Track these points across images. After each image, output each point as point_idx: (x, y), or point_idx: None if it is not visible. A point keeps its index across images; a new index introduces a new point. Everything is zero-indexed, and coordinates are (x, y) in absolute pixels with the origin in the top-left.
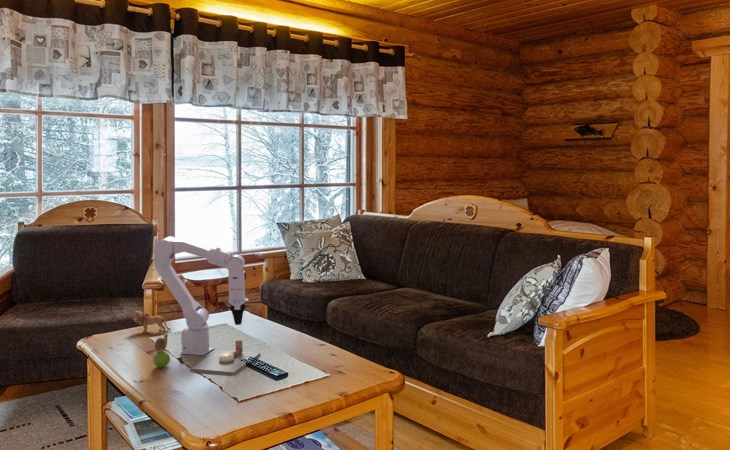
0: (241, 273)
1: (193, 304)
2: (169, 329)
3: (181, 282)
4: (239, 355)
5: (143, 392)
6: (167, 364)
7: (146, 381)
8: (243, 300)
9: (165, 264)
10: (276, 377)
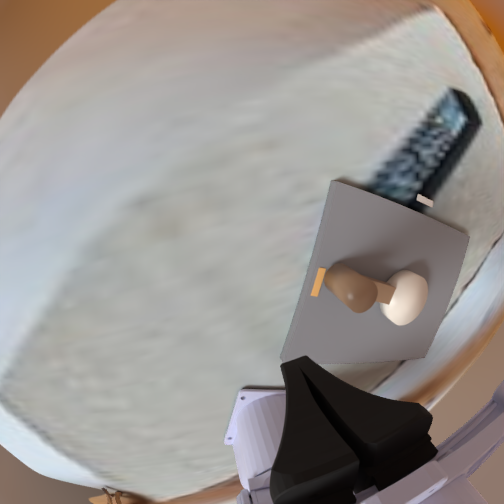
0: None
1: None
2: (105, 490)
3: None
4: (361, 265)
5: (468, 366)
6: None
7: (434, 394)
8: (456, 479)
9: None
10: (473, 120)
